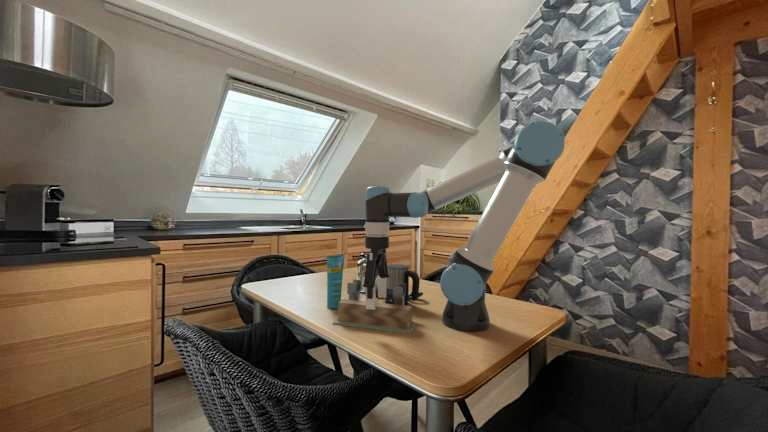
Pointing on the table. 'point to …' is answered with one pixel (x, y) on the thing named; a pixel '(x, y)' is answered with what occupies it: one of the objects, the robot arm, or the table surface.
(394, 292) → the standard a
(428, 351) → the table surface
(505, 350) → the table surface
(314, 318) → the table surface
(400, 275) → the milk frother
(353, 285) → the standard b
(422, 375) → the table surface
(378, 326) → the felt mat
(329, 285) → the tube
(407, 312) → the rail
